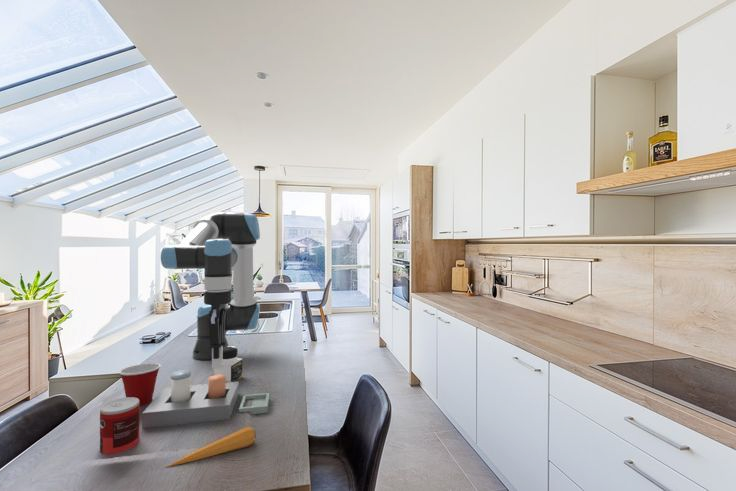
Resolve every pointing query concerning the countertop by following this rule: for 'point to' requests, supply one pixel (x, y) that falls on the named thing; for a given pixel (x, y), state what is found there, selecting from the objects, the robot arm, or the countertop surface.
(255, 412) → the tray
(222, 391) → the plunger
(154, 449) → the countertop surface
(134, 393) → the plastic cup
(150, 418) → the housing
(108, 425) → the canned food
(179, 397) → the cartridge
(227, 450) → the carrot
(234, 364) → the medicine bottle
